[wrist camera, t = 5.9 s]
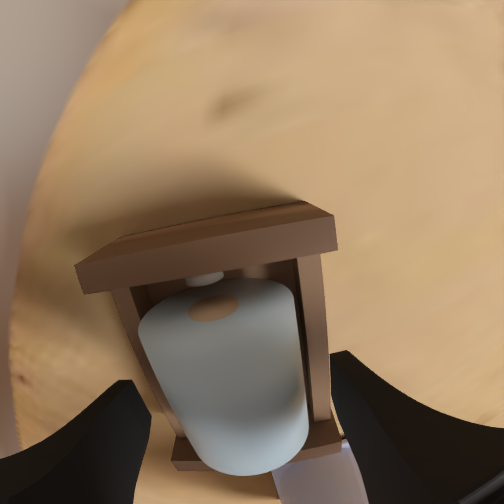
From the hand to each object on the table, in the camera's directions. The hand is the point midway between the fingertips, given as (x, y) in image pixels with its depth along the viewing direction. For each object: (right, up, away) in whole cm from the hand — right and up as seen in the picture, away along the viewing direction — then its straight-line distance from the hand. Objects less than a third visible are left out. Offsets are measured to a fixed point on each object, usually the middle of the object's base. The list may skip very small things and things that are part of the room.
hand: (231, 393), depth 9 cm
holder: (0, +1, +4) cm, 4 cm away
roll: (0, +1, +3) cm, 3 cm away
